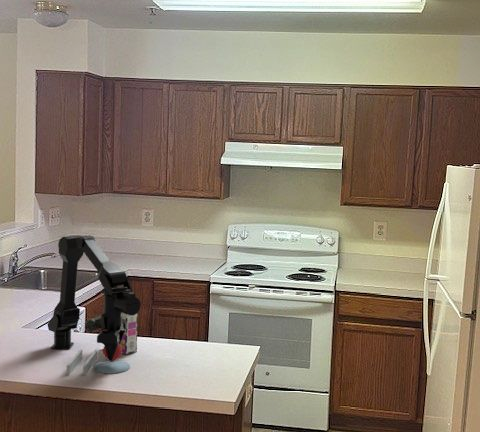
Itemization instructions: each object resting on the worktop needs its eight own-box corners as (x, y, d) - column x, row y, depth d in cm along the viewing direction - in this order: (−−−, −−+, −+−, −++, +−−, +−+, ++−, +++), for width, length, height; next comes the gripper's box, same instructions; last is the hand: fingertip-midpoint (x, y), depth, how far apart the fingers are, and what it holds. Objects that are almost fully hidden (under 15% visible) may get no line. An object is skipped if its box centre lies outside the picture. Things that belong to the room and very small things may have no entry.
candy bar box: (137, 352, 227) (138, 305, 225) (126, 354, 223) (126, 307, 222) (118, 344, 235) (118, 299, 233) (106, 347, 231) (107, 301, 229)
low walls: (79, 358, 218) (79, 349, 218) (97, 359, 218) (97, 350, 218) (66, 374, 202) (66, 365, 202) (85, 375, 202) (85, 366, 202)
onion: (122, 359, 213) (123, 335, 212) (120, 365, 207) (120, 340, 206) (104, 358, 213) (105, 334, 212) (101, 364, 207) (101, 339, 206)
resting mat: (99, 361, 216) (99, 360, 216) (132, 362, 216) (132, 361, 215) (91, 373, 205) (91, 371, 205) (126, 374, 205) (126, 372, 205)
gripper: (94, 301, 217) (93, 347, 219) (80, 315, 199) (79, 365, 201) (128, 302, 217) (127, 348, 219) (117, 317, 199) (116, 367, 200)
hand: (112, 357), depth 210 cm, fingers closed on onion, 6 cm apart
